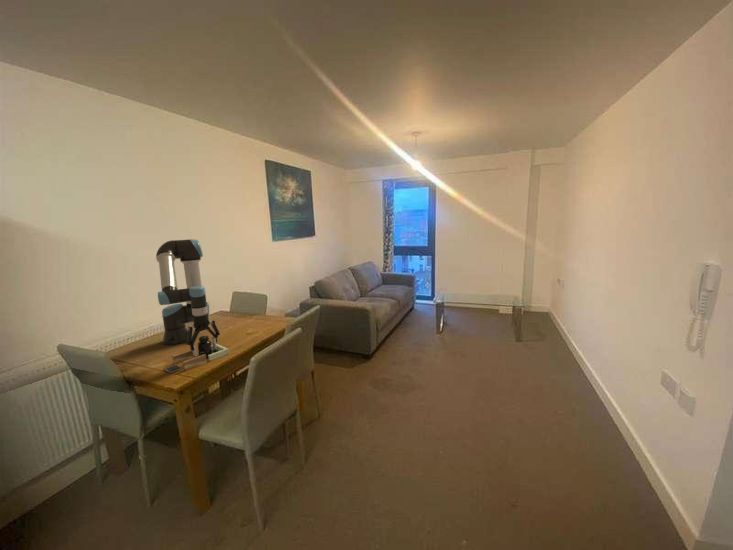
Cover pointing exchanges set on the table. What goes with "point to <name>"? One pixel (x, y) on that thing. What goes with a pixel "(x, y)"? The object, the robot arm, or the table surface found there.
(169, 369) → the mat
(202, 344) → the supplement bottle
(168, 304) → the robot arm
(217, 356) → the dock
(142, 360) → the table surface
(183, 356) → the channel
